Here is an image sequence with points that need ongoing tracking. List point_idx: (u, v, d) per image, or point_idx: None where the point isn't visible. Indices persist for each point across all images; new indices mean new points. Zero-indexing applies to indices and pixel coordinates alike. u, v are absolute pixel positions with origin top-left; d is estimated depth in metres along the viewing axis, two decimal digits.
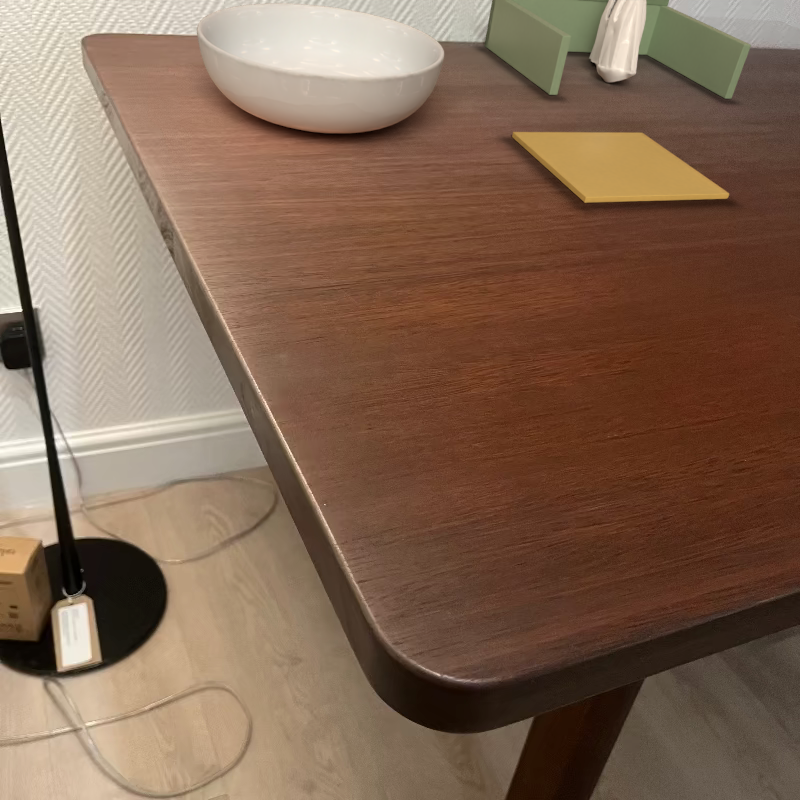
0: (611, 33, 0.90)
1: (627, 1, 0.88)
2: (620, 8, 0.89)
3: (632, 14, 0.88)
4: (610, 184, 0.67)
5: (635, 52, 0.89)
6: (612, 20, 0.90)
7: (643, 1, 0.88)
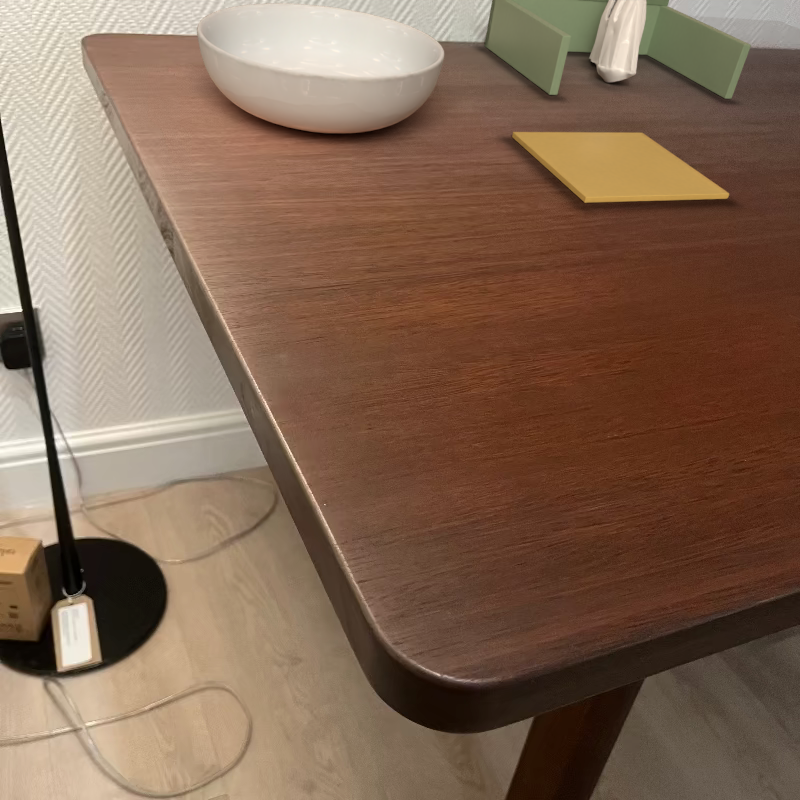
0: (611, 33, 0.90)
1: (627, 1, 0.88)
2: (620, 8, 0.89)
3: (632, 14, 0.88)
4: (610, 184, 0.67)
5: (635, 52, 0.89)
6: (612, 20, 0.90)
7: (643, 1, 0.88)
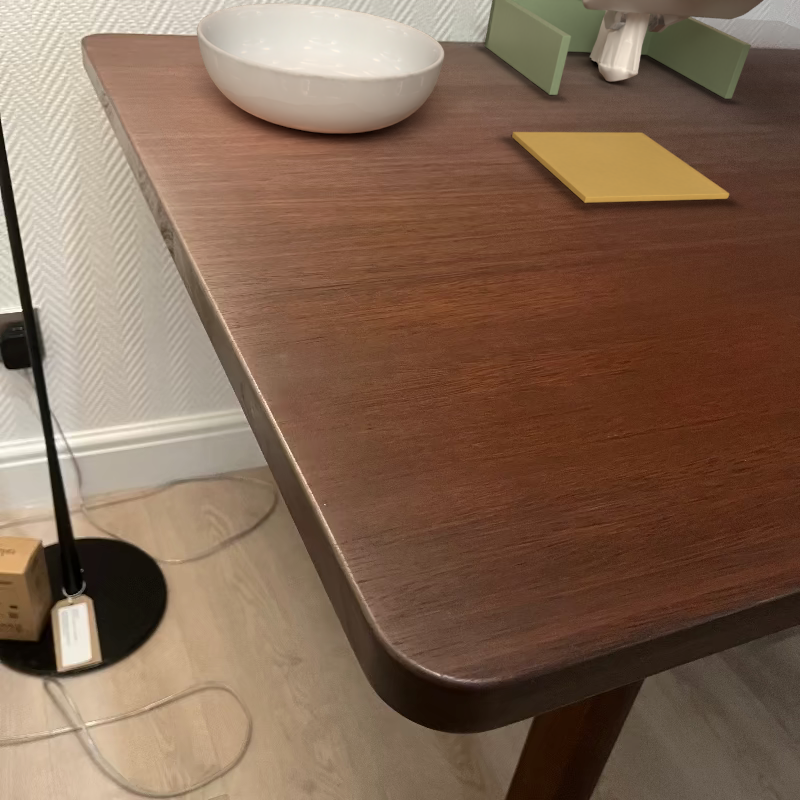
0: (614, 32, 0.90)
1: None
2: None
3: (636, 14, 0.88)
4: (610, 184, 0.67)
5: (638, 52, 0.89)
6: None
7: None
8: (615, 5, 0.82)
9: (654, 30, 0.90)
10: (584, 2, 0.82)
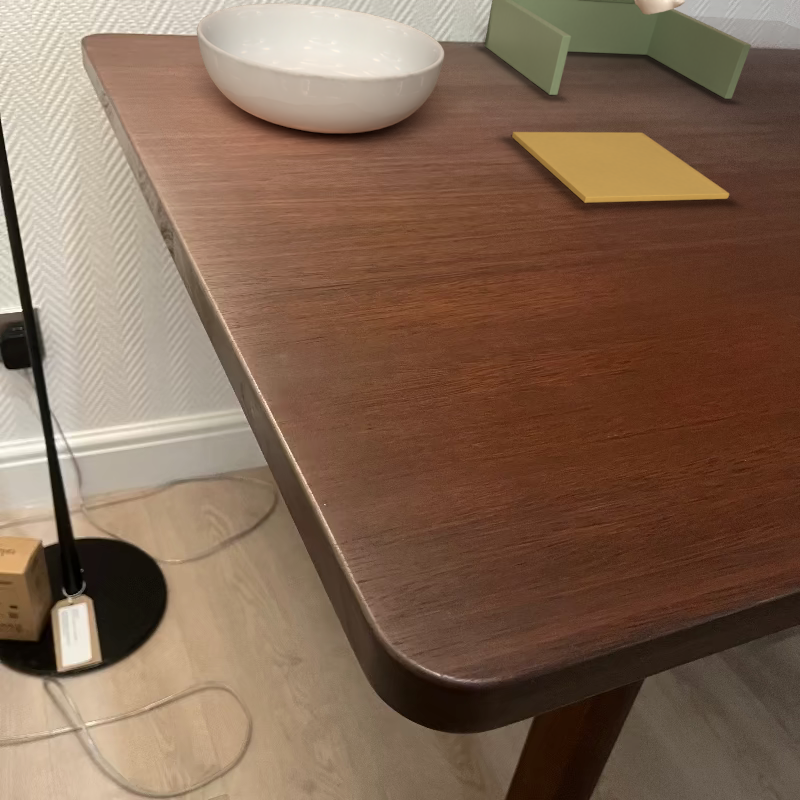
0: None
1: None
2: None
3: None
4: (610, 184, 0.67)
5: None
6: None
7: None
8: None
9: None
10: None
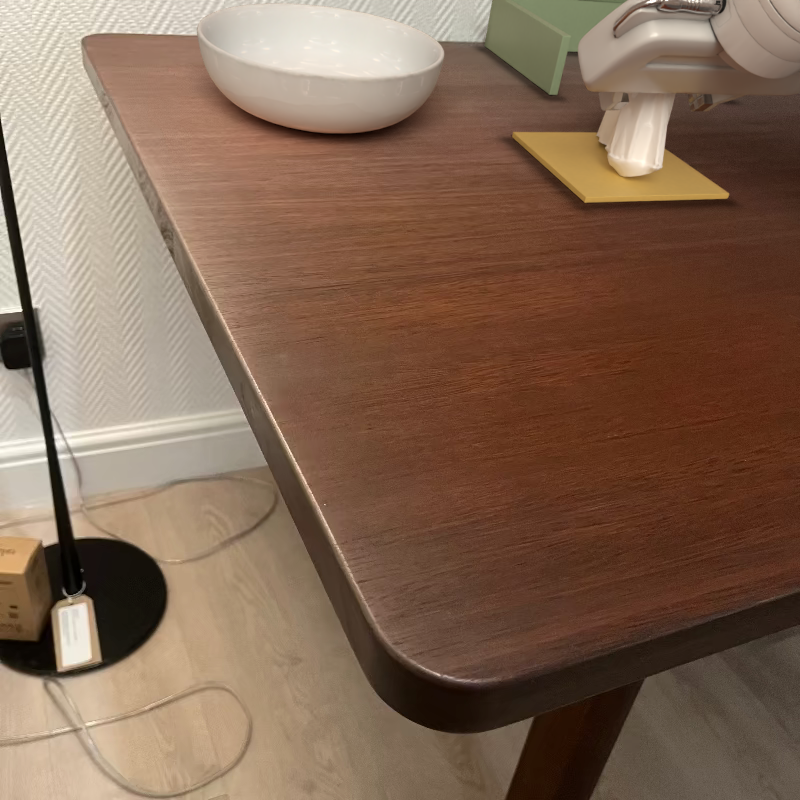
0: (628, 113, 0.65)
1: None
2: None
3: None
4: (610, 184, 0.67)
5: (661, 140, 0.65)
6: (629, 95, 0.65)
7: None
8: (630, 86, 0.58)
9: (698, 109, 0.66)
10: (586, 83, 0.57)
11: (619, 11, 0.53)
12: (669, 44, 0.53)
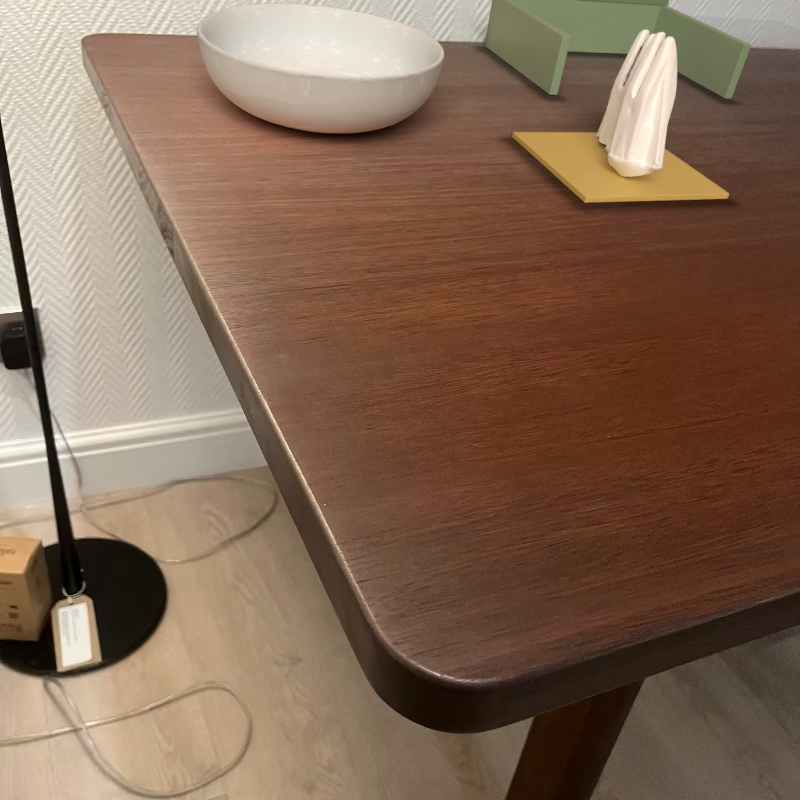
0: (628, 113, 0.65)
1: (651, 71, 0.63)
2: (641, 79, 0.64)
3: (657, 89, 0.64)
4: (610, 184, 0.67)
5: (661, 140, 0.65)
6: (630, 95, 0.65)
7: (673, 71, 0.63)
8: None
9: None
10: None
11: None
12: None
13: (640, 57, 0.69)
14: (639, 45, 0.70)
